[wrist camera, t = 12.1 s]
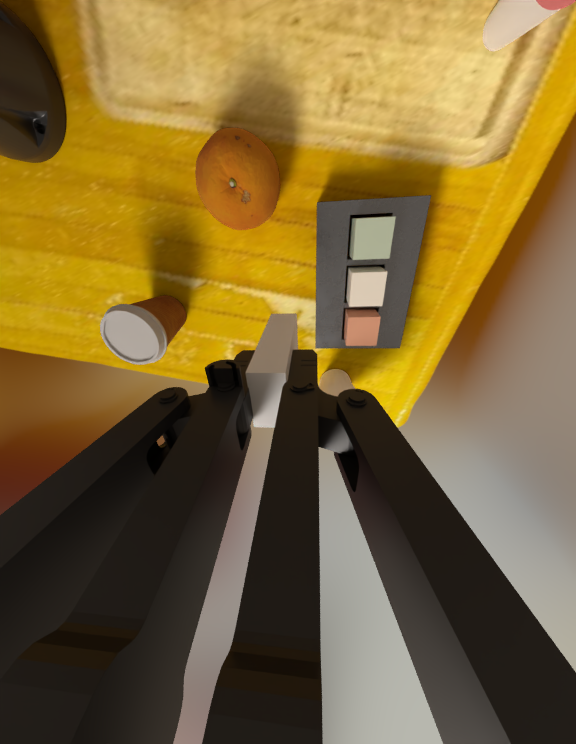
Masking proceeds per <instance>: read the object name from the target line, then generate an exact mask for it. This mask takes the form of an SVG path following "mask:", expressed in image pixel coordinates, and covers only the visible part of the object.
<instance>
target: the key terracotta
mask: <svg viewBox="0 0 576 744" xmlns="http://www.w3.org/2000/svg"><path fill="white" fill-rule="evenodd" d="M380 319H381V317H380V315H379V314H378V312H377V310H376V309H375V307H372V308H345V313H344V327H343V335H344V339H345V343H346V346H376V345H377V339H378V332H379V325H380Z"/></svg>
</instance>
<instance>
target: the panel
mask: <svg viewBox="0 0 576 744" xmlns="http://www.w3.org/2000/svg"><path fill="white" fill-rule="evenodd" d="M430 198H431V195H429V196H412V197H396V198H380V199H363V200H347V201H331V202H317V251H316V348H400V345H401V340H402V335H403V330H404V325H405V320H406V315H407V311H408V306H409V301H410V296H411V291H412V286H413V281H414V276H415V271H416V267H417V262H418V257H419V252H420V247H421V242H422V237H423V232H424V227H425V222H426V218H427V213H428V208H429V203H430ZM377 213H385V216H392V217H396V218H395V225H394V232H393V238H392V245H391V252H390V258H389V259H364V260H353V259H352V258H351V257H350V256H347V252H348V238H349V223H350V215H359V214H377ZM351 265H380V266H381V267H382V268H383V269H385V270H386V271H387V279H386V285H385V292H384V299H383V305H382V306H363V307H349V305H348V302H347V299H346V296H345V281H346V267H347V266H351ZM372 307H375V309H376V310H377V312H378V314H379V315H380V317H381V319H380V325H379V332H378V339H377V345H376V346H346V343H345V339H344V335H343V330H342V325H343V310H344V308H372Z"/></svg>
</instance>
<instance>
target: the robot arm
mask: <svg viewBox="0 0 576 744" xmlns="http://www.w3.org/2000/svg"><path fill="white" fill-rule="evenodd" d="M65 127H66V116H65V107H64V101H63V97H62V93H61V89H60V86H59V83H58V80H57V77H56V75H55V72H54V70H53V68H52V66H51V64H50V62H49V60H48V58H47V56H46V54H45V52H44V51H43V49H42V47H41V46H40V44H39V43H38V41H37V40H36V38H35V37H34V35H33V34H32V33H31V31H30V30H29V29H28V28H27V26H26V25H25V24H24V23H23V22H22V21H21V20H20V19H19V18H18V17H17V16H16V15H15V14H14V13H13V12H12V11H11V10H10V9H9V8H7V7H6V6H5V5H4V4H2V3H1V2H0V155H2V156H5V157H8V158H11V159H15V160H20V161H26V162H33V163H38V162H43V161H46V160H48V159H50V158H52V157H53V156H54V155H55V154H56V153H57V152H58V150H59V149H60V147H61V145H62V142H63V139H64V135H65ZM205 371H206V375H207V379H208V383H209V388H208V390H207V391H206V393H203V394H199V395H193V396H188V393H187V391H186V390H185V389H183V388H180V387H173V388H167V389H165V390H162V391H160V392H158V393H156V394H155V395H153V396H152V397H151V398H150V399H148V400H147V401H146V402H145V403H143V404H142V405H141V406H139V407H138V408H137V409H136V410H134V411H133V412H132V413H130V414H129V415H128V416H127V417H125V418H124V419H123V420H122V421H120V422H119V423H118V424H116V425H115V426H114V427H113V428H111V429H110V430H109V431H107V432H106V433H105V434H104V435H102V436H101V437H100V438H98V439H97V440H96V441H95V442H93V443H92V444H91V445H90V446H88V447H87V448H86V449H85V450H83V451H82V452H81V453H79V454H78V455H77V456H75V457H74V458H73V459H72V460H70V461H69V462H68V463H66V464H65V465H64V466H63V467H61V468H60V469H59V470H58V471H56V472H55V473H54V474H52V475H51V476H50V477H49V478H47V479H46V480H45V481H43V482H42V483H41V484H40V485H38V486H37V487H36V488H35V489H33V490H32V491H31V492H29V493H28V494H27V495H26V496H24V497H23V498H22V499H20V500H19V501H18V502H17V503H16V504H14V505H13V506H11V507H10V508H9V509H8V510H6V511H5V512H4V513H3V514H1V515H0V744H173V741H174V738H175V734H176V730H177V726H178V722H179V717H180V713H181V707H182V700H183V684H184V673H185V668H186V664H187V660H188V656H189V653H190V650H191V646H192V642H193V639H194V635H195V632H196V628H197V625H198V621H199V618H200V614H201V611H202V607H203V604H204V600H205V597H206V593H207V590H208V586H209V583H210V579H211V576H212V572H213V568H214V565H215V562H216V558H217V555H218V551H219V548H220V544H221V541H222V537H223V534H224V530H225V527H226V523H227V520H228V516H229V512H230V509H231V506H232V502H233V499H234V495H235V492H236V488H237V485H238V481H239V478H240V474H241V470H242V467H243V464H244V460H245V456H246V453H247V449H248V446H249V442H250V439H251V427H250V425H251V421H252V418H253V423H254V427H273V428H274V434H273V439H272V444H271V449H270V454H269V459H268V465H267V469H266V475H265V480H264V485H263V490H262V495H261V500H260V505H259V510H258V516H257V521H256V526H255V531H254V537H253V542H252V546H251V552H250V557H249V562H248V567H247V573H246V577H245V583H244V588H243V593H242V598H241V603H240V608H239V614H238V618H237V624H236V629H235V633H234V638H233V642H232V645H231V649H230V651H229V653H228V655H227V657H226V659H225V661H224V663H223V665H222V667H221V670H220V674H219V676H218V680H217V683H216V686H215V690H214V694H213V698H212V702H211V706H210V710H209V714H208V719H207V724H206V729H205V734H204V738H203V742H202V744H322V684H321V656H320V655H321V653H320V566H319V565H320V556H319V460H318V459H319V457H318V456H319V453H318V447H321V448H325V449H328V450H331V451H334V456H335V459H336V461H337V464H338V467H339V469H340V472H341V474H342V477H343V480H344V482H345V485H346V488H347V490H348V493H349V496H350V498H351V501H352V503H353V506H354V509H355V511H356V514H357V517H358V519H359V522H360V524H361V527H362V530H363V533H364V535H365V538H366V540H367V543H368V546H369V549H370V551H371V554H372V556H373V559H374V562H375V564H376V567H377V570H378V572H379V575H380V578H381V580H382V583H383V585H384V588H385V591H386V593H387V596H388V599H389V601H390V604H391V606H392V609H393V612H394V614H395V617H396V620H397V622H398V625H399V628H400V630H401V633H402V636H403V638H404V641H405V643H406V646H407V649H408V651H409V654H410V656H411V659H412V662H413V665H414V667H415V670H416V673H417V675H418V678H419V680H420V683H421V686H422V688H423V691H424V694H425V697H426V699H427V702H428V704H429V707H430V710H431V712H432V715H433V718H434V720H435V723H436V726H437V728H438V731H439V733H440V736H441V739H442V741H443V744H576V672H575V671H574V670H573V668H572V667H571V665H570V664H569V663H568V661H567V660H566V659H565V657H564V656H563V654H562V653H561V652H560V650H559V649H558V648H557V646H556V645H555V643H554V642H553V641H552V639H551V638H550V637H549V636H548V634H547V632H546V631H545V630H544V629H543V627H542V626H541V624H540V623H539V621H538V620H537V619H536V617H535V616H534V615H533V613H532V612H531V611H530V609H529V608H528V606H527V605H526V604H525V602H524V601H523V600H522V598H521V597H520V595H519V594H518V593H517V591H516V590H515V589H514V587H513V586H512V584H511V583H510V582H509V580H508V579H507V578H506V576H505V575H504V574H503V572H502V571H501V569H500V568H499V567H498V565H497V564H496V563H495V561H494V560H493V558H492V557H491V556H490V554H489V553H488V552H487V550H486V549H485V548H484V546H483V545H482V543H481V542H480V541H479V539H478V538H477V537H476V535H475V534H474V532H473V531H472V530H471V528H470V527H469V525H468V524H467V523H466V521H465V520H464V519H463V517H462V516H461V514H460V513H459V512H458V510H457V509H456V508H455V507H454V505H453V504H452V502H451V501H450V499H449V498H448V497H447V495H446V494H445V493H444V491H443V490H442V488H441V487H440V486H439V484H438V483H437V482H436V480H435V479H434V478H433V477H432V475H431V473H430V472H429V471H428V469H427V468H426V467H425V465H424V464H423V462H422V461H421V460H420V458H419V457H418V456H417V454H416V453H415V452H414V450H413V449H412V448H411V446H410V445H409V443H408V442H407V441H406V439H405V438H404V436H403V435H402V434H401V432H400V431H399V430H398V428H397V427H396V425H395V424H394V423H393V421H392V420H391V419H390V417H389V416H388V414H387V413H386V412H385V410H384V409H383V408H382V406H381V405H380V403H379V402H378V401H377V399H376V398H375V397H374V396H373V395H372V394H371V393H369V392H367V391H365V390H360V389H348V390H344V391H342V392H341V393H339V395H338V396H333V395H330V394H327V393H325V392H323V391H322V390H321V389H320V388H319V387H318V383H317V354H316V353H315V352H314V350H298V340H297V314H271V316H270V318H269V320H268V323H267V325H266V327H265V330H264V332H263V334H262V336H261V339H260V341H259V343H258V345H257V348H256V350H243V351H242V352H240V353H239V354H237V355H236V357H235V359H234V360H219V361H216V362H213V363H211V364H209V365H208V366H207V367H205ZM162 435H163V437H164V440H165V442H164V443H163V444H162V445H160V446H158V444H157V442H156V441H157V440H158V439H159V438H160V437H161V436H162Z"/></svg>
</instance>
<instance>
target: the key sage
mask: <svg viewBox="0 0 576 744" xmlns="http://www.w3.org/2000/svg"><path fill="white" fill-rule="evenodd" d="M395 218H396V217H392V216H383V217H365V218H351V229H350V243H349V256H350V257H351V258H352V259H353V260H364V259H389V258H390V252H391V245H392V238H393V232H394V225H395Z"/></svg>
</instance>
